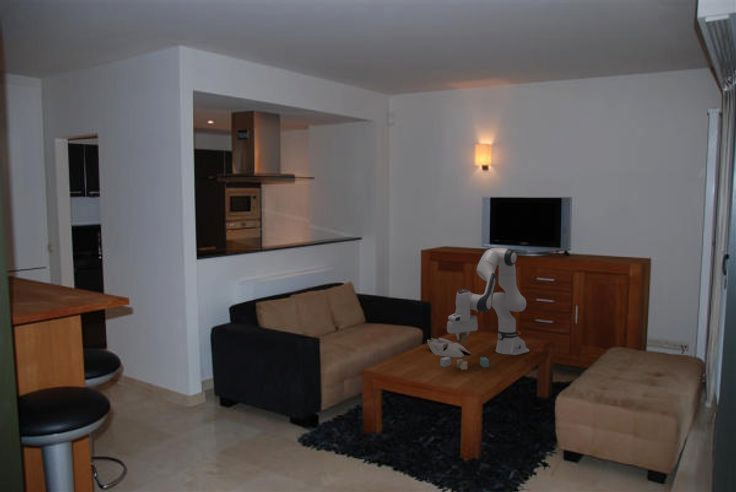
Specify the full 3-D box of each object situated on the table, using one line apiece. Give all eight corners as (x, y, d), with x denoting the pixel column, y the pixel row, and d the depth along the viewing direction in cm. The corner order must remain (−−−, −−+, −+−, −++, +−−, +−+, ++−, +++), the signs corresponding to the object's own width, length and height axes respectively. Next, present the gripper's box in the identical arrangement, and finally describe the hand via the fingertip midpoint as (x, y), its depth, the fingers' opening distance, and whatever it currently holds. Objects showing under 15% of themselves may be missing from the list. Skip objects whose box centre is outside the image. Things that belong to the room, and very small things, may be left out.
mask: (437, 332, 422) (475, 340, 402) (437, 345, 423) (475, 354, 403) (420, 338, 407) (459, 346, 387) (420, 351, 408) (458, 360, 388)
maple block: (456, 367, 373) (456, 360, 373) (461, 366, 375) (461, 359, 374) (462, 370, 368) (462, 362, 367) (467, 369, 369) (467, 361, 369)
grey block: (446, 363, 380) (446, 356, 379) (450, 365, 377) (450, 357, 377) (440, 366, 376) (440, 358, 375) (444, 367, 373) (444, 360, 373)
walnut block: (456, 341, 371) (457, 333, 371) (461, 340, 373) (461, 333, 372) (462, 343, 366) (462, 336, 365) (467, 342, 367) (467, 335, 367)
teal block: (480, 364, 379) (480, 357, 378) (485, 364, 379) (485, 357, 378) (482, 367, 373) (483, 360, 372) (488, 367, 373) (488, 360, 373)
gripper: (474, 314, 375) (473, 336, 376) (445, 316, 366) (445, 339, 368) (480, 316, 370) (479, 338, 371) (451, 318, 361) (451, 341, 362)
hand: (462, 339), depth 369 cm, fingers closed on walnut block, 3 cm apart
